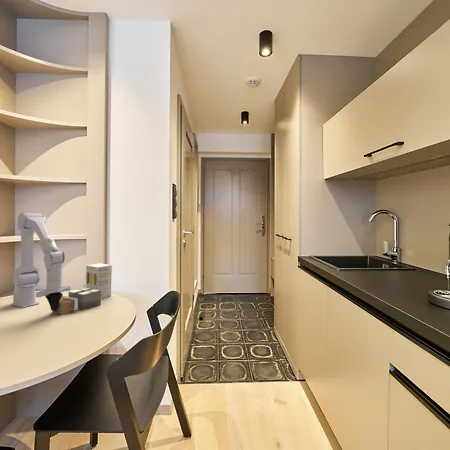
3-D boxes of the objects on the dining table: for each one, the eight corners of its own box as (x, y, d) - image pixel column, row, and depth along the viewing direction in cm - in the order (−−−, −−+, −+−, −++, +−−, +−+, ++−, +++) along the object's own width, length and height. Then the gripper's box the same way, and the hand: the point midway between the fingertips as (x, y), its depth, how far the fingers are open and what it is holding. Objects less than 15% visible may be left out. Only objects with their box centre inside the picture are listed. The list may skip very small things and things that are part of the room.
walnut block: (52, 312, 139) (52, 301, 139) (62, 309, 143) (62, 298, 143) (61, 314, 136) (61, 303, 136) (71, 312, 140) (71, 300, 140)
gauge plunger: (74, 310, 140) (74, 290, 139) (59, 306, 144) (59, 287, 144) (94, 304, 149) (94, 285, 149) (79, 301, 154) (80, 283, 153)
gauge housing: (83, 310, 144) (83, 294, 143) (68, 306, 148) (68, 291, 148) (100, 304, 153) (101, 289, 152) (86, 301, 157) (86, 287, 157)
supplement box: (84, 296, 166) (85, 265, 165) (99, 293, 174) (100, 262, 173) (97, 299, 161) (97, 266, 161) (111, 295, 169) (112, 264, 169)
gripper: (43, 283, 127) (43, 316, 128) (75, 277, 140) (74, 307, 141) (32, 281, 131) (32, 313, 131) (64, 275, 143) (64, 305, 144)
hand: (53, 310), depth 136 cm, fingers closed
